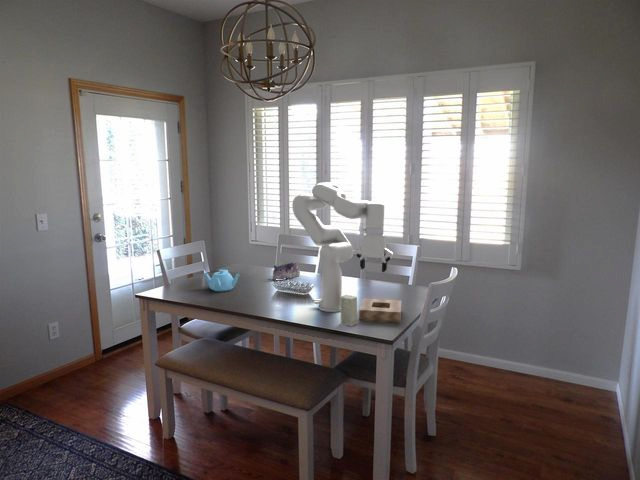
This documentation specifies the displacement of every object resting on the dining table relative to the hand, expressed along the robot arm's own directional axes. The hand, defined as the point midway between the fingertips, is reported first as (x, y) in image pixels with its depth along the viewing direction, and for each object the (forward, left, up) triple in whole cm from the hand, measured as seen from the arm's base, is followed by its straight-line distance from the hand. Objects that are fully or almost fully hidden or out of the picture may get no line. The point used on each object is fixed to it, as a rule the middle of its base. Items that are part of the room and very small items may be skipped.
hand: (373, 270), depth 199 cm
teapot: (-87, +37, -23) cm, 97 cm away
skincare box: (-10, -6, -23) cm, 26 cm away
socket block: (+3, +8, -23) cm, 25 cm away
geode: (-59, +70, -23) cm, 95 cm away
